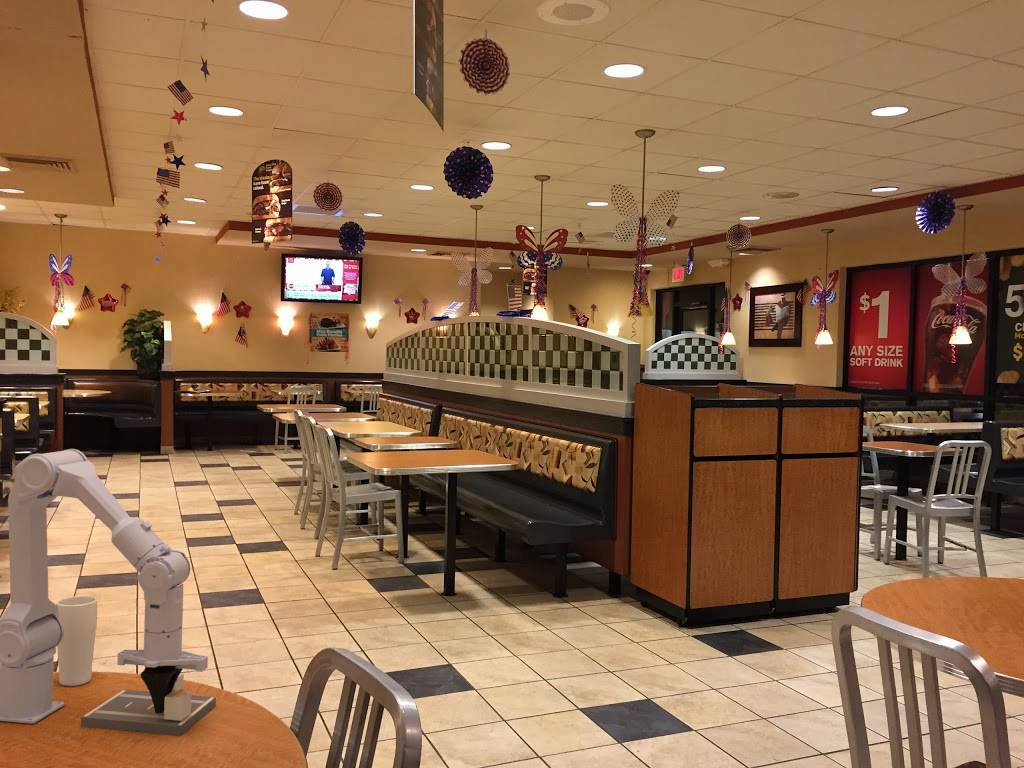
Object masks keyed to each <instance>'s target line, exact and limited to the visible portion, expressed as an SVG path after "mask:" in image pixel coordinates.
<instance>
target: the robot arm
mask: <svg viewBox="0 0 1024 768" xmlns="http://www.w3.org/2000/svg"><path fill="white" fill-rule="evenodd" d="M57 497H64V498H66V497H67V498H73V499H78V500H79V502H81V503H82V504H83V505H84V506H85V507H86V508H87V509H88V510H89V511H90V512H91V513H92V514H94V516H96V518H98V520H99V521H101V522H102V523H103V525H105V526H106V527H107V528H108V529H109V530H110V531H111V543H112V544H113V546H114V547H115V548H116V549H117V550H118V551H119V552H120V553H121V554H122V555H123V557H124V558H125V559H126V560H127V561H128V562H129V563H130V565H132V567H133V568H134V569H135V570H136V571H137V572H138V574H137V582H138V584H139V587H140V588H141V589H142V591H143V600H144V627H143V628H144V631H143V649H123V650H121V651H120V652H118V653H117V662H116V663H117V666H125V665H132V666H133V665H134V666H144V669H143V671H141V672H140V678H141V679H142V681H143V682H144V684H145V686H146V688H147V689H148V691H149V692H150V695H151V698H152V701H153V705H154V709H155V713H160V714H161V713H163V712H164V702H165V696H167V695H168V694H169V693H171V692H172V690H173V687H174V685H175V683H176V680H177V679H178V677H179V675H180V674H182V671H183V669H184V670H193V671H194V670H195V671H196V672H199V673H202V672H204V671H205V670H206V669H208V665H209V664H208V663H209V662H208V661H209V656H208V655H201V654H197V653H192V652H190V651H185V650H183V649H182V648H183V647H182V646H183V621H184V620H183V613H184V612H183V611H184V608H183V607H184V582H186V581H187V580H188V578H189V576H190V574H191V563H190V560H189V559H188V556H187V555H186V554H185V553H184V551H182V550H179V549H173V548H171V546H170V545H169V544H168V543H165V542H164V541H163V540H162V538H160V536H159V535H157V533H155V531H154V530H153V529H152V527H153V525H152V524H151V522H150V521H148V520H143V518H141V517H131V516H130V515H129V514H128V512H127V511H126V510H125V508H124V507H123V506H122V504H120V503H119V501H118V500H117V499H116V498H115V496H114V495H113V493H112V492H111V491H110V490H109V489H108V487H107V485H105V484H104V482H103V481H102V480H101V479H100V478H99V475H98V474H97V470H96V466H95V464H94V463H92V462H91V461H90V460H88V458H87V456H86V455H85V454H84V453H83V452H82V451H80V450H79V449H75V448H68V449H64V450H61V451H60V450H59V451H54V452H46V453H45V452H44V453H33V454H30V455H28V456H27V457H25V458H24V459H22V460H21V461H20V462H19V463H18V464H17V465H15V466H14V482H13V483H12V487H11V489H10V491H9V493H8V498H7V507H8V509H7V510H8V511H7V514H8V545H9V546H8V548H9V549H8V550H9V555H8V556H9V589H10V590H9V592H10V604H9V606H8V607H7V608H6V610H5V611H4V612H3V614H2V615H1V616H0V722H11V723H21V724H23V723H24V724H36V723H38V722H39V721H41V720H42V719H44V718H46V717H47V716H49V715H51V714H52V713H54V712H55V711H57V710H58V709H59V710H60V708H62V707H64V706H65V702H64V701H58V700H57V701H55V700H54V659H55V658H54V655H55V654H56V653H57V652H56V651H57V646H58V645H59V644H60V643H61V641H62V639H63V636H64V627H63V624H62V622H61V620H60V617H59V612H58V606H57V605H56V603H54V602H53V601H52V600H50V598H49V575H48V574H49V571H48V570H49V569H48V568H49V567H48V566H49V564H48V563H49V562H48V561H49V560H48V559H49V557H48V524H47V523H48V522H47V521H48V520H47V518H48V515H47V508H48V505H50V504H51V503H52V502H53V501H54V500H55V499H56V498H57Z"/></svg>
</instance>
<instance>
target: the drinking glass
mask: <svg viewBox="0 0 1024 768" xmlns="http://www.w3.org/2000/svg"><path fill="white" fill-rule="evenodd" d="M55 604H56V605H57V606H58V612H59V617H60V620H61V622H62V624H63V627H64V636H63V639H62V641H61V643H60V644H59V645H58V646H56V651H57V660H58V661H57V662H58V663H57V664H58V682H59V684H60V685H62V686H63V687H77V686H82V685H84V684H87V683H88V682H90V681H91V679H92V676H93V669H92V668H93V660H94V659H93V658H94V650H95V644H96V643H95V642H96V641H95V640H96V634H97V626H98V599H97V597H95V596H91V595H74V596H68V597H67V596H66V597H64V598H60V599H59V600H57V601H56V603H55Z"/></svg>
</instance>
